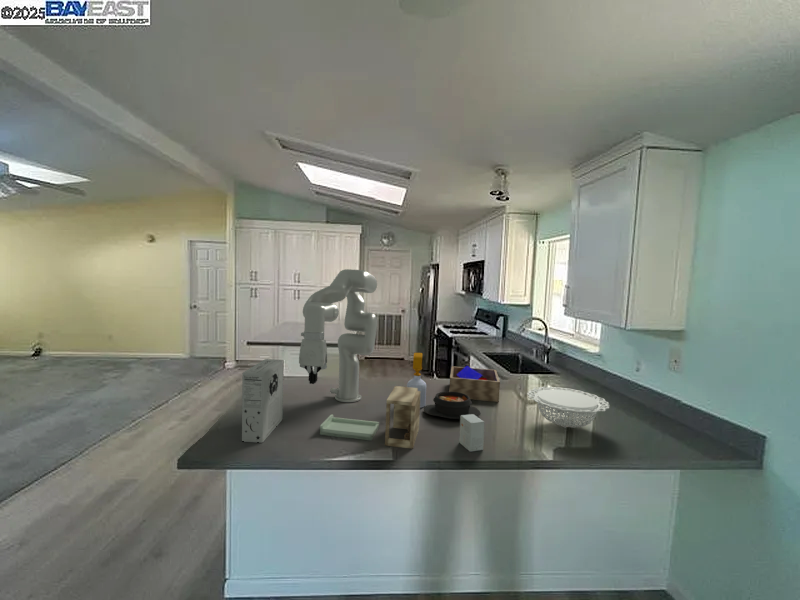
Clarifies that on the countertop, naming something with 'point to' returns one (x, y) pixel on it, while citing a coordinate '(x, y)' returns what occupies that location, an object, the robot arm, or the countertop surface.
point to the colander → (567, 405)
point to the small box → (471, 432)
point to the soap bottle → (418, 378)
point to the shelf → (403, 415)
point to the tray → (349, 428)
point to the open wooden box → (476, 385)
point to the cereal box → (262, 400)
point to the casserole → (451, 405)
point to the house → (470, 374)
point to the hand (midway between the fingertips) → (312, 382)
